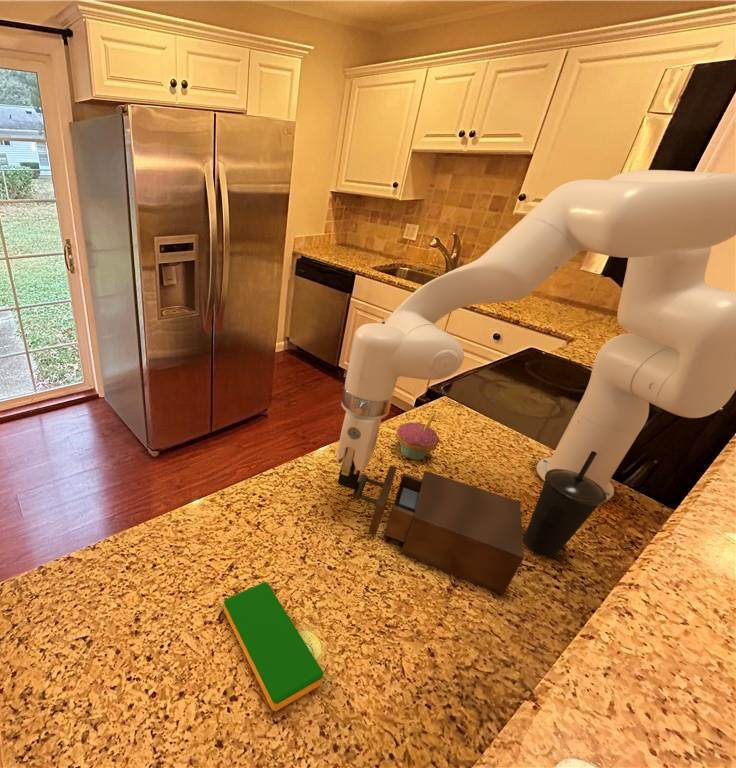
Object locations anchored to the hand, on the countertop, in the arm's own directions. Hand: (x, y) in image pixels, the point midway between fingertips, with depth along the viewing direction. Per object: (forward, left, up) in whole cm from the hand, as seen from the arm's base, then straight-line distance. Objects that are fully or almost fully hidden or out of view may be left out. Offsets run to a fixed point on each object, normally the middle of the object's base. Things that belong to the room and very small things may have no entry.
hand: (347, 484), depth 76 cm
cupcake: (-23, +9, -5) cm, 25 cm away
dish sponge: (+31, -1, -5) cm, 31 cm away
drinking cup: (-8, +32, -5) cm, 33 cm away
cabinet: (0, +19, -5) cm, 19 cm away
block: (0, +11, -3) cm, 12 cm away
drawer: (0, +11, -4) cm, 11 cm away
